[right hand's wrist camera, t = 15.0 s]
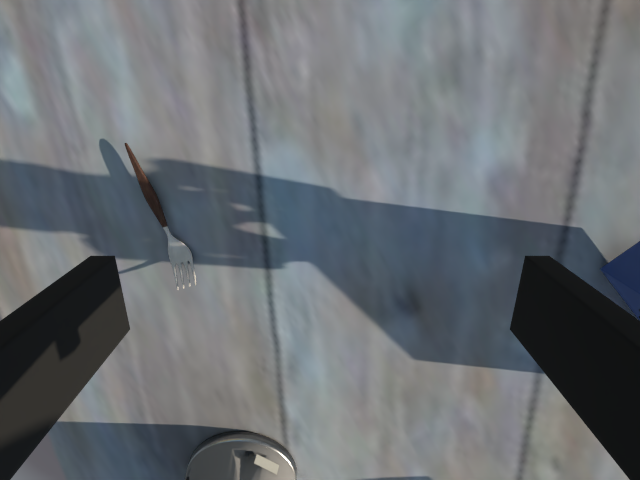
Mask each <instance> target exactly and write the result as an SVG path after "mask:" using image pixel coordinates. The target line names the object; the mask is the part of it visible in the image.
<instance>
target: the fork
mask: <svg viewBox="0 0 640 480" xmlns="http://www.w3.org/2000/svg"><path fill="white" fill-rule="evenodd" d="M125 147H126V150H127V152H128V155H129V158H130V160H131V163H132V165H133V168H134V170H135V173H136V176H137V178H138V181H139V184H140V187H141V189H142V192H143V194H144V197H145V199H146V201H147V202H148V204H149V206H150V208H151V209H152V211H153V212H154V214H155V216H156V217H157V219H158V220H159V222H160V224H161V225H162V227H163V229H164V230H165V232H166V234H167V237H168V255H169V259H170V262H171V265H172V268H173V272H174V277H175V281H176V285H177V290H178V281H177V273H176V264H177V265H178V268H179V271H180V275H181V280H182V284H183V288H184V280H183V272H182V263H183V264H184V266H185V270H186V274H187V278H188V283H189V287H190V279H189V271H188V264H187V262H188V261H189V262H190V265H191V269H192V273H193V277H194V281H195V285H196V278H195V270H194V264H193V258H192V253H191V251H190V249H189V248H188V247H187V246H186V245H185V244H184V243H182V242H181V241H179V240H178V239H176V238H175V237H173V236H172V234H171V233H170V231H169V228H168V226H167V223H166V220H165V217H164V214H163V211H162V208H161V205H160V202H159V200H158V197H157V195H156V193H155V191H154V189H153V187H152V186H151V184H150V182H149V181H148V179H147V177H146V176H145V174H144V172H143V171H142V169H141V167H140V165H139V163H138V162H137V160H136V158H135V156H134V154H133V153H132V151H131V149H130V148H129V146H128V144H127V143H125Z"/></svg>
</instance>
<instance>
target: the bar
mask: <svg viewBox="0 0 640 480" xmlns="http://www.w3.org/2000/svg"><path fill="white" fill-rule="evenodd" d="M601 271H602V272H603V273H604V275H605V276H606V277H607V279H608V280H609V281H610V282H611V284H612V285H613V286H614V288H615V289H616V290H617V292H618V293H619V294H620V295H621V297H622V298H623V299H624V301H625V302H626V303H627V305H628V306H629V307H630V309H631V310H632V311H633V312H634V314H635V315H636V316H637V318H638V319H639V320H640V318H639V316H640V312H639V309H640V241H639V242H638V243H637V244H635V245H634V246H632V247H631V248H629V249H628V250H626V251H625V252H624V253H622V254H621V255H619V256H618V257H616V258H615V259H614V260H612V261H611V262H609V263H608V264H606V265H605V266H603V267H602V268H601Z"/></svg>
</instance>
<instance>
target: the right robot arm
mask: <svg viewBox="0 0 640 480" xmlns="http://www.w3.org/2000/svg"><path fill="white" fill-rule="evenodd" d="M129 330H130V327H129V322H128V317H127V312H126V307H125V303H124V298H123V293H122V288H121V284H120V279H119V274H118V269H117V264H116V260H115V256H90V257H89V258H87V259H86V260H84V261H83V262H82V263H80V264H79V265H77V266H76V267H75V268H73V269H72V270H71V271H69V272H68V273H66V274H65V275H64V276H62V277H61V278H59V279H58V280H57V281H55V282H54V283H53V284H51V285H50V286H48V287H47V288H46V289H44V290H43V291H41V292H40V293H39V294H37V295H36V296H34V297H33V298H32V299H30V300H29V301H28V302H26V303H25V304H23V305H22V306H21V307H19V308H18V309H16V310H15V311H14V312H12V313H11V314H9V315H8V316H7V317H5V318H4V319H3V320H1V321H0V480H10V479H11V478H12V477H13V475H14V474H15V473H16V472H17V470H18V469H19V468H20V467H21V465H22V464H23V463H24V462H25V460H26V459H27V458H28V457H29V455H30V454H31V453H32V452H33V450H34V449H35V448H36V447H37V445H38V444H39V443H40V442H41V440H42V439H43V438H44V436H45V435H46V434H47V433H48V431H49V430H50V429H51V428H52V426H53V425H54V424H55V423H56V421H57V420H58V419H59V418H60V416H61V415H62V414H63V413H64V411H65V410H66V409H67V408H68V406H69V405H70V404H71V403H72V401H73V400H74V399H75V398H76V396H77V395H78V394H79V393H80V391H81V390H82V389H83V388H84V386H85V385H86V384H87V383H88V381H89V380H90V379H91V378H92V376H93V375H94V374H95V373H96V371H97V370H98V369H99V368H100V366H101V365H102V364H103V362H104V361H105V360H106V359H107V357H108V356H109V355H110V354H111V352H112V351H113V350H114V349H115V347H116V346H117V345H118V344H119V342H120V341H121V340H122V339H123V337H124V336H125V335H126V334H127V332H128V331H129ZM510 330H511V331H512V332H513V334H514V335H515V336H516V337H517V339H518V340H519V341H520V342H521V344H522V345H523V346H524V347H525V349H526V350H527V351H528V352H529V354H530V355H531V356H532V357H533V359H534V360H535V361H536V362H537V364H538V365H539V366H540V368H541V369H542V370H543V371H544V373H545V374H546V375H547V376H548V378H549V379H550V380H551V381H552V383H553V384H554V385H555V386H556V388H557V389H558V390H559V391H560V393H561V394H562V395H563V396H564V398H565V399H566V400H567V401H568V403H569V404H570V405H571V406H572V408H573V409H574V410H575V411H576V413H577V414H578V415H579V416H580V418H581V419H582V420H583V421H584V423H585V424H586V425H587V426H588V428H589V429H590V430H591V431H592V433H593V434H594V435H595V437H596V438H597V439H598V440H599V442H600V443H601V444H602V445H603V447H604V448H605V449H606V450H607V452H608V453H609V454H610V455H611V457H612V458H613V459H614V460H615V462H616V463H617V464H618V465H619V467H620V468H621V469H622V470H623V472H624V473H625V474H626V475H627V477H628V478H629V479H630V480H640V321H639V320H637V319H636V318H635V317H633V316H632V315H631V314H629V313H628V312H626V311H625V310H624V309H622V308H621V307H619V306H618V305H617V304H615V303H614V302H612V301H611V300H610V299H608V298H607V297H606V296H604V295H603V294H601V293H600V292H599V291H597V290H596V289H594V288H593V287H592V286H590V285H589V284H587V283H586V282H585V281H583V280H582V279H581V278H579V277H578V276H576V275H575V274H574V273H572V272H571V271H569V270H568V269H567V268H565V267H564V266H562V265H561V264H560V263H558V262H557V261H556V260H554V259H553V258H551V257H550V256H525V260H524V264H523V269H522V274H521V279H520V284H519V288H518V293H517V298H516V303H515V307H514V312H513V317H512V322H511V327H510ZM296 475H297V470H296V465H295V462H294V460H293V458H292V456H291V455H290V453H289V452H288V451H287V450H286V449H285V448H284V447H283V446H282V445H280V444H279V443H277V442H276V441H274V440H272V439H270V438H268V437H266V436H263V435H260V434H256V433H250V432H228V433H223V434H219V435H216V436H213V437H211V438H209V439H207V440H206V441H204V442H203V443H202V444H200V445H199V446H198V447H197V448H196V450H195V451H194V452H193V454H192V456H191V459H190V462H189V464H188V467H187V471H186V477H185V480H296Z"/></svg>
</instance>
